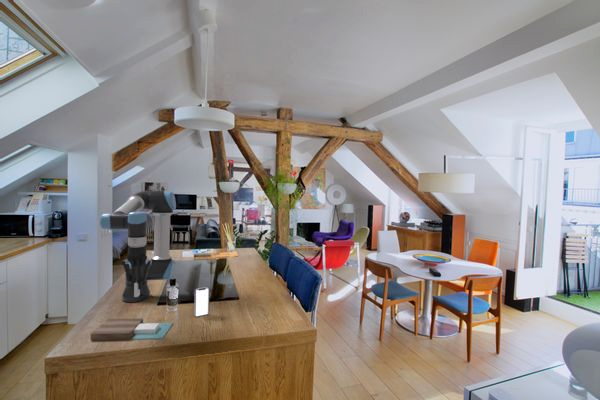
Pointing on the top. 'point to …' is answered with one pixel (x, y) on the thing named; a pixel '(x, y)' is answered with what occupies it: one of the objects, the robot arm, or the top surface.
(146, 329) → the white slab
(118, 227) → the robot arm
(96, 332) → the brown wooden flat block
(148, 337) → the mat
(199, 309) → the mobile phone
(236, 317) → the top surface
